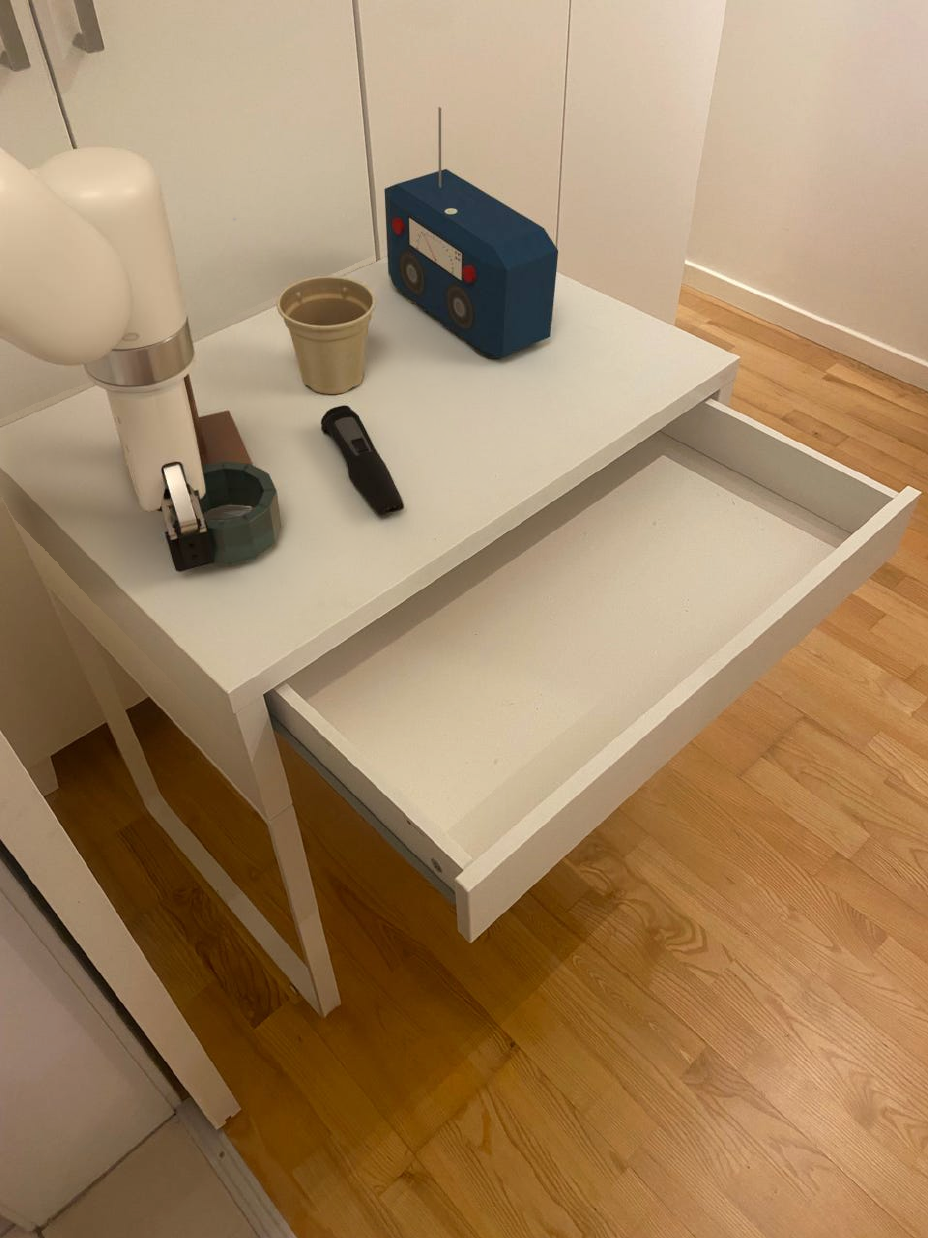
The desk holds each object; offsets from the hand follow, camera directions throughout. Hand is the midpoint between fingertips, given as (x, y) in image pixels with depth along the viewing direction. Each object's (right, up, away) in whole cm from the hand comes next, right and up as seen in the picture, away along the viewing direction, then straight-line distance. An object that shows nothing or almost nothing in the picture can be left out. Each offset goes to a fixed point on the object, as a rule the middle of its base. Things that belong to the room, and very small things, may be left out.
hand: (184, 533), depth 79 cm
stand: (-2, +7, +9) cm, 12 cm away
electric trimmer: (+14, +7, +9) cm, 18 cm away
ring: (+3, 0, +2) cm, 4 cm away
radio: (+23, +26, +27) cm, 44 cm away
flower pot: (+10, +17, +18) cm, 27 cm away
